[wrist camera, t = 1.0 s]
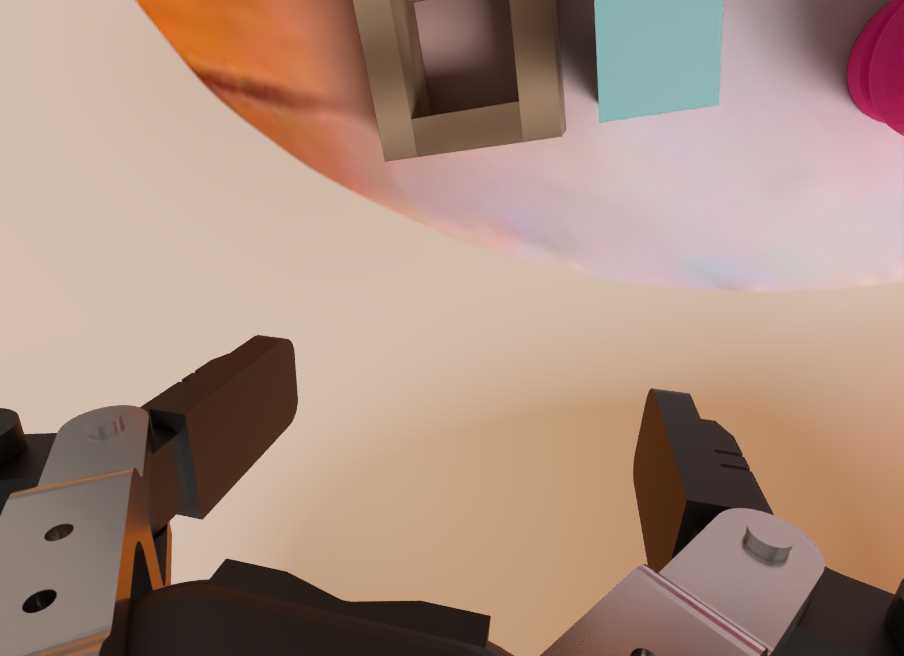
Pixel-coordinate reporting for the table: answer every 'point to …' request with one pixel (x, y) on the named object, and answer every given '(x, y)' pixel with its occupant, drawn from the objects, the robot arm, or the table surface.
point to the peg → (657, 56)
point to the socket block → (421, 134)
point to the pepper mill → (880, 67)
